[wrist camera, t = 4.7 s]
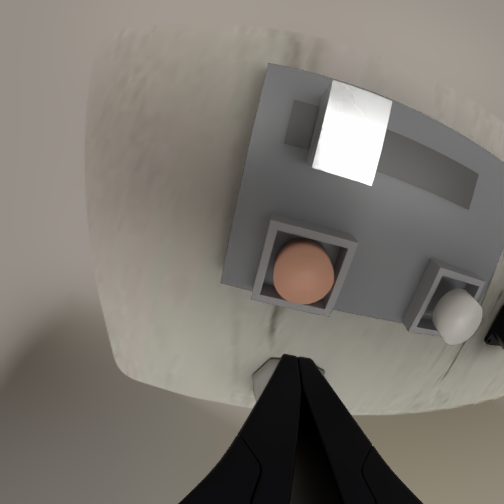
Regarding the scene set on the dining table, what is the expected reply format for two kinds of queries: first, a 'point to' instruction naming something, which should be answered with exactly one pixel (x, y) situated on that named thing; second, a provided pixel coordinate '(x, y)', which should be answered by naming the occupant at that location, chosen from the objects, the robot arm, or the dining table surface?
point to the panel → (366, 210)
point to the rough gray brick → (349, 132)
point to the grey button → (457, 316)
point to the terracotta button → (303, 271)
